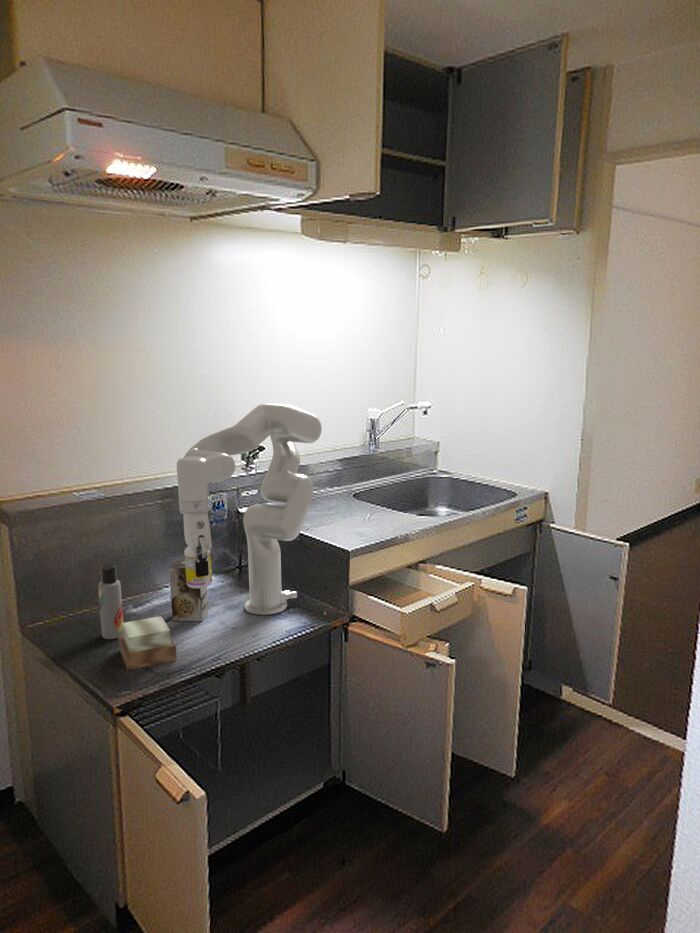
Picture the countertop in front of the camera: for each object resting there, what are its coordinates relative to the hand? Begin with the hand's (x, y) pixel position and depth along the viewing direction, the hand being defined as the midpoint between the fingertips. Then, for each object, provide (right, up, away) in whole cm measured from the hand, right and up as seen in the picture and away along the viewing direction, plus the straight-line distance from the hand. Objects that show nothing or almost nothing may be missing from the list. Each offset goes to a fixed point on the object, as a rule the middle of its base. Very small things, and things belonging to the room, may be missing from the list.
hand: (198, 570), depth 189 cm
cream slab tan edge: (-12, -21, -3) cm, 25 cm away
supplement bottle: (0, -4, +1) cm, 4 cm away
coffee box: (-7, -17, +21) cm, 28 cm away
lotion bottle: (-25, -19, +9) cm, 33 cm away
